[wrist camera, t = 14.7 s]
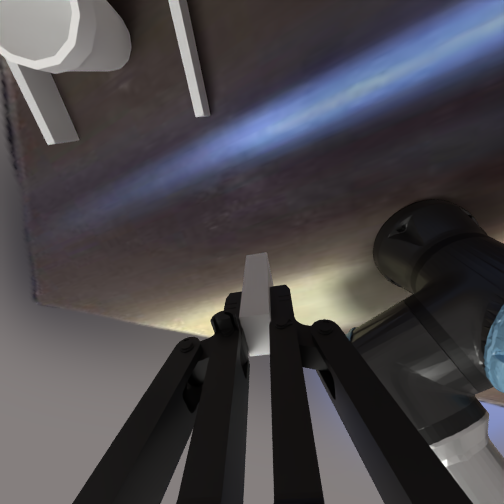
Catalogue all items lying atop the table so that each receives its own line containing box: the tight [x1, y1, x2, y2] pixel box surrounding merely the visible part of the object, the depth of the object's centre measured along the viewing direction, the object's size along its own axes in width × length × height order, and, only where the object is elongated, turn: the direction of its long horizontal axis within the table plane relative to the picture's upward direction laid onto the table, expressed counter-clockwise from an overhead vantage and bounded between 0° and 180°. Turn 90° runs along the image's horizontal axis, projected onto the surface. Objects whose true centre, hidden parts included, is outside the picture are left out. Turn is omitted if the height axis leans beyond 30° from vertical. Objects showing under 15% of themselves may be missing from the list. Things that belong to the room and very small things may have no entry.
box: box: [5, 0, 211, 145], centre depth 30 cm, size 16×20×5 cm
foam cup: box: [0, 0, 132, 74], centre depth 25 cm, size 10×9×13 cm
